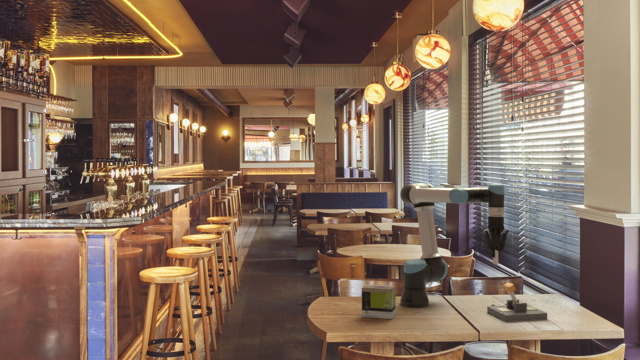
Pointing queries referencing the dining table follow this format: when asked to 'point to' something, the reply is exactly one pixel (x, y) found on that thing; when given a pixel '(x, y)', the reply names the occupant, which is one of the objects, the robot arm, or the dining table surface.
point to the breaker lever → (511, 291)
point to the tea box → (378, 301)
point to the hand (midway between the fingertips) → (495, 264)
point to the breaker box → (516, 312)
